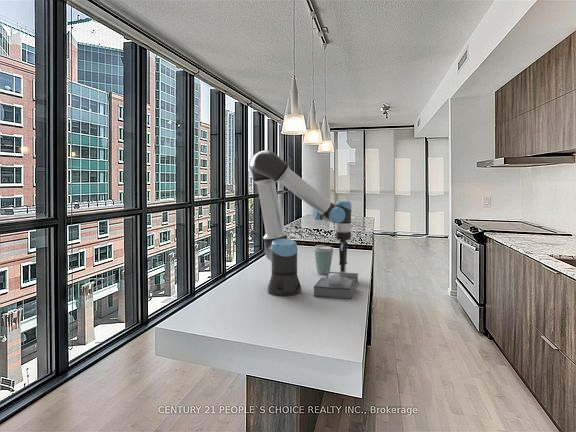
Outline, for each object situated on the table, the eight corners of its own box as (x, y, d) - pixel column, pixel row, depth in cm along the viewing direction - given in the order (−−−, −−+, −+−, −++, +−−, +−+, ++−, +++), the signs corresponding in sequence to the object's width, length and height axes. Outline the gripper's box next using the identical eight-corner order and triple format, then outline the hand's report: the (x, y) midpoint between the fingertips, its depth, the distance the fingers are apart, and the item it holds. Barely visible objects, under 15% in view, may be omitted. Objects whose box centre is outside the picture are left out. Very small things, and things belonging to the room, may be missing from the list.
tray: (353, 290, 178) (354, 281, 178) (320, 288, 183) (320, 279, 182) (357, 282, 194) (358, 273, 194) (326, 279, 198) (327, 271, 198)
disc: (338, 284, 183) (338, 281, 183) (328, 281, 190) (328, 277, 190) (351, 282, 187) (351, 279, 187) (341, 279, 194) (341, 276, 194)
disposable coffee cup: (333, 271, 218) (333, 244, 217) (333, 275, 207) (333, 248, 206) (314, 270, 219) (314, 244, 218) (313, 275, 208) (313, 247, 207)
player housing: (350, 299, 166) (350, 278, 165) (313, 296, 170) (314, 276, 170) (355, 289, 181) (355, 270, 180) (321, 286, 186) (321, 268, 185)
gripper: (349, 233, 190) (348, 280, 192) (352, 230, 202) (351, 274, 204) (334, 232, 192) (333, 279, 194) (338, 229, 204) (337, 273, 206)
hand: (342, 277), depth 199 cm, fingers closed
